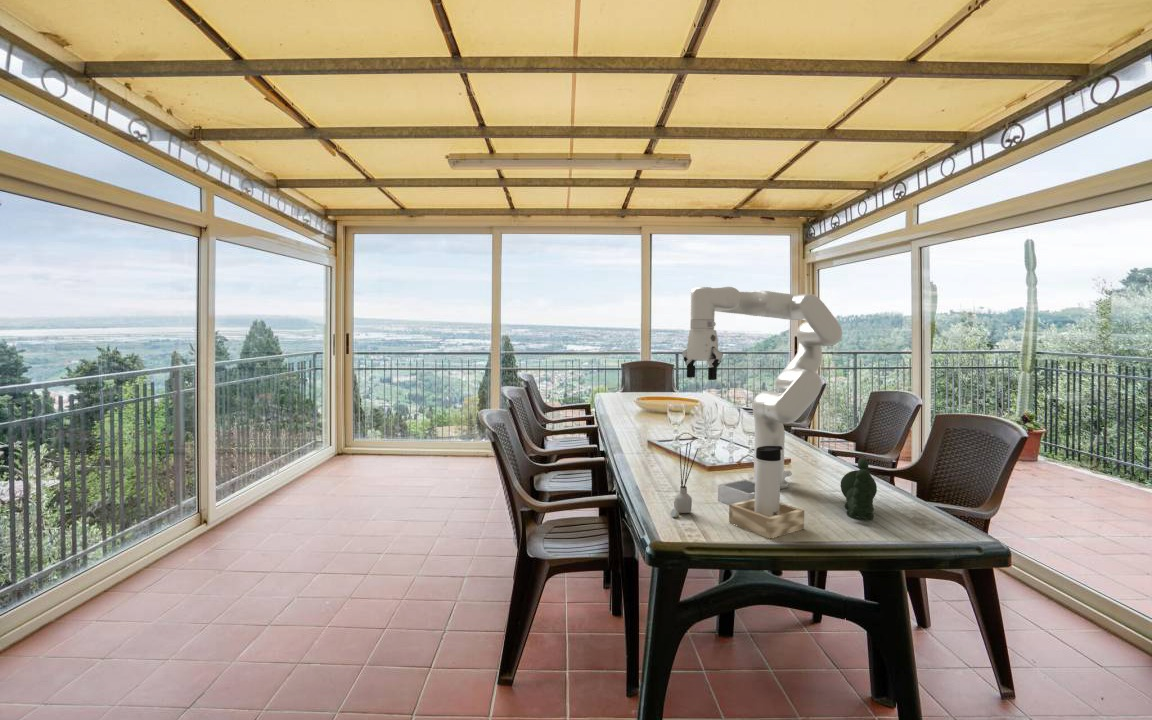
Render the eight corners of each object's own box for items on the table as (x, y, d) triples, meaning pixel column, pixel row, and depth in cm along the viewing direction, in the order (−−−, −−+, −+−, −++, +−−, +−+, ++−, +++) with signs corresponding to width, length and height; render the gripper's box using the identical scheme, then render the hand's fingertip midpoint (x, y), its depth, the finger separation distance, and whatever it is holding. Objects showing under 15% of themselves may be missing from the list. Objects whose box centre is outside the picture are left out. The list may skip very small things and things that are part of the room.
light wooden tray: (762, 514, 154) (762, 496, 154) (803, 529, 143) (804, 510, 143) (728, 522, 147) (729, 504, 147) (769, 539, 136) (770, 519, 136)
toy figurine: (881, 535, 143) (873, 500, 166) (885, 466, 141) (876, 440, 163) (841, 530, 147) (838, 496, 170) (844, 462, 145) (841, 437, 167)
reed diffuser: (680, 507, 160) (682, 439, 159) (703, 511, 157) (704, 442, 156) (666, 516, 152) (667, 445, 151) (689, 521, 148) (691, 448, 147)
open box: (744, 494, 173) (745, 479, 173) (776, 505, 163) (777, 488, 162) (717, 500, 167) (718, 484, 166) (748, 511, 156) (749, 494, 156)
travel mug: (782, 525, 141) (784, 449, 140) (755, 523, 143) (757, 447, 142) (778, 517, 147) (780, 444, 146) (752, 515, 149) (754, 443, 148)
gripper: (731, 325, 171) (729, 380, 172) (692, 326, 185) (691, 376, 186) (713, 325, 167) (712, 381, 168) (675, 325, 181) (674, 377, 182)
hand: (701, 378), depth 177 cm, fingers open, 9 cm apart
